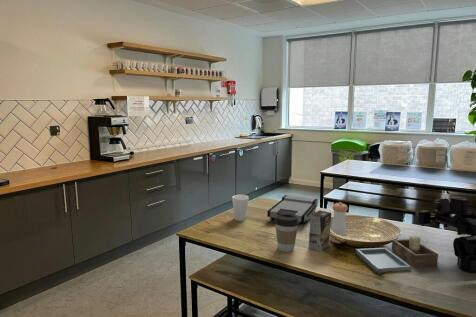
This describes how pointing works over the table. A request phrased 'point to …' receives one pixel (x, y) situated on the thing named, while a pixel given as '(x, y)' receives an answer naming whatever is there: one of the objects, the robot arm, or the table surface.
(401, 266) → the tray
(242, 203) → the foam cup
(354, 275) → the table surface
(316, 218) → the coffee box
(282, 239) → the coffee cup
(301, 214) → the office tray
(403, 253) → the pin trough
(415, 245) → the dowel pin
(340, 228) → the pepper shaker
